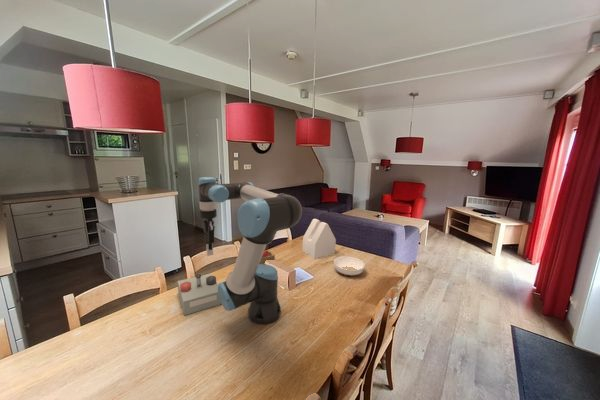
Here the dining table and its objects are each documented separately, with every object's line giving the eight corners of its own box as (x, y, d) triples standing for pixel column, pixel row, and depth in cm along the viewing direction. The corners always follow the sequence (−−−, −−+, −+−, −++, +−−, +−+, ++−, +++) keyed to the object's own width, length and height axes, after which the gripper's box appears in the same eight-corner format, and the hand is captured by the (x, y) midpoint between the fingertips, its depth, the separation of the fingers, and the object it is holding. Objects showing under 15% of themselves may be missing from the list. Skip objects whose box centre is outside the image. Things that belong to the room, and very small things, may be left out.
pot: (202, 286, 121) (201, 275, 120) (196, 287, 119) (196, 277, 118) (201, 284, 123) (200, 273, 122) (195, 285, 122) (195, 274, 120)
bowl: (367, 270, 159) (368, 261, 158) (357, 282, 143) (358, 273, 142) (340, 262, 169) (340, 253, 168) (328, 273, 153) (328, 264, 152)
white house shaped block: (314, 259, 172) (316, 225, 167) (302, 251, 185) (303, 220, 180) (334, 254, 182) (337, 222, 178) (322, 247, 195) (324, 217, 190)
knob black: (217, 294, 125) (217, 279, 123) (208, 297, 122) (207, 281, 121) (215, 290, 129) (214, 274, 127) (205, 292, 126) (205, 277, 125)
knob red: (192, 302, 119) (191, 285, 117) (182, 305, 116) (180, 288, 114) (191, 297, 123) (190, 280, 121) (180, 299, 120) (179, 283, 118)
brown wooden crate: (274, 262, 166) (274, 255, 165) (251, 267, 156) (251, 260, 155) (268, 256, 174) (268, 250, 173) (245, 261, 164) (245, 254, 163)
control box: (222, 304, 119) (221, 291, 118) (184, 315, 110) (183, 301, 108) (211, 284, 135) (211, 273, 134) (178, 293, 126) (177, 281, 125)
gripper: (219, 211, 113) (221, 258, 118) (212, 205, 124) (214, 248, 129) (202, 213, 109) (205, 261, 114) (197, 207, 120) (199, 251, 125)
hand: (210, 254), depth 121 cm, fingers closed
